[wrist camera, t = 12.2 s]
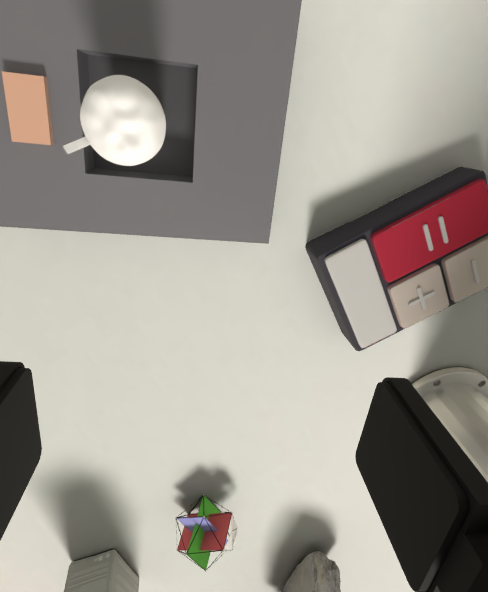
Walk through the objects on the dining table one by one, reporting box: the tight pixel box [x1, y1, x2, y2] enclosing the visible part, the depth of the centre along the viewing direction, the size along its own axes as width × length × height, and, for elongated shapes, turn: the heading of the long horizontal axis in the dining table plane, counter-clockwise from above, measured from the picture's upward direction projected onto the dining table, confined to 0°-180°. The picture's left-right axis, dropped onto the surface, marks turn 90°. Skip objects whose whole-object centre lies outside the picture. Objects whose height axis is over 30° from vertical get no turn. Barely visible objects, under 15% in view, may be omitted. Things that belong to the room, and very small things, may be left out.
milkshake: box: [62, 75, 166, 166], centre depth 24 cm, size 5×5×10 cm
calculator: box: [306, 167, 488, 351], centre depth 35 cm, size 11×4×15 cm
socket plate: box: [0, 0, 302, 244], centre depth 27 cm, size 20×16×4 cm
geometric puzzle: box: [176, 494, 237, 572], centre depth 46 cm, size 7×7×8 cm
